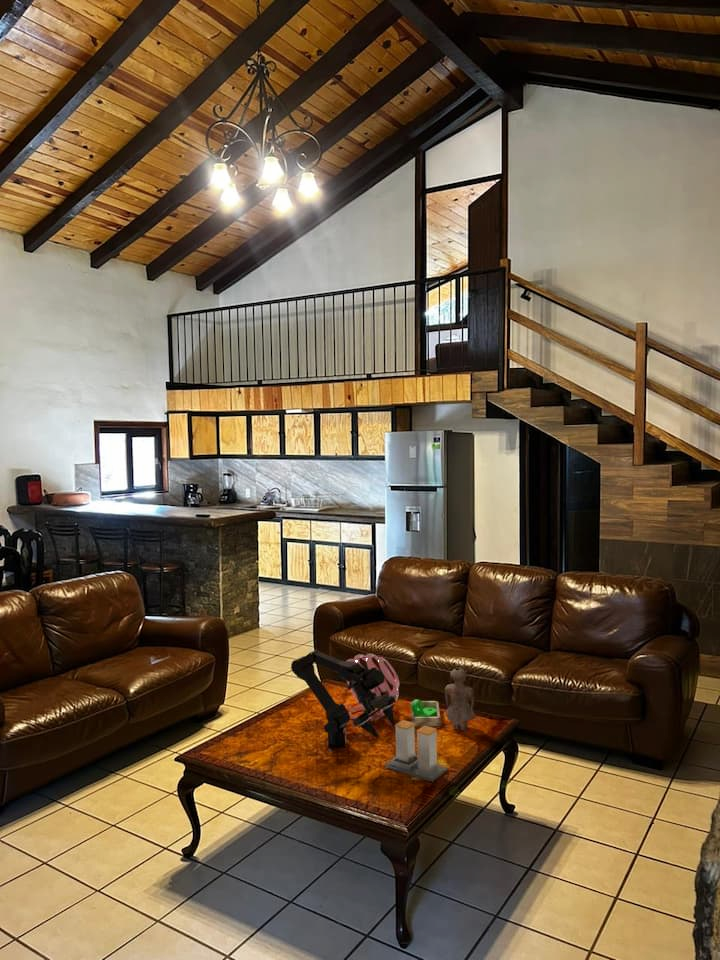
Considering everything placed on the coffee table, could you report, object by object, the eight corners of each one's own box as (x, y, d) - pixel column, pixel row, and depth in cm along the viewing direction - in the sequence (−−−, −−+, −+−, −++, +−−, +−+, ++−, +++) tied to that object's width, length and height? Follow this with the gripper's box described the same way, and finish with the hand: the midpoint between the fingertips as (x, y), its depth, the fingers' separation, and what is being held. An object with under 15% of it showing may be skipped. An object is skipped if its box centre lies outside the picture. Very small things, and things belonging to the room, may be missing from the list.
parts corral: (411, 726, 294) (411, 717, 294) (411, 708, 312) (410, 701, 312) (440, 725, 293) (440, 717, 293) (438, 708, 311) (438, 701, 311)
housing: (385, 767, 259) (384, 725, 258) (400, 756, 267) (399, 715, 266) (432, 782, 247) (431, 738, 246) (446, 770, 255) (445, 727, 254)
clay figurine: (478, 725, 292) (477, 666, 291) (471, 735, 284) (470, 674, 282) (449, 720, 298) (447, 663, 296) (441, 730, 289) (439, 670, 287)
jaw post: (396, 764, 259) (395, 724, 258) (403, 758, 263) (402, 719, 262) (408, 767, 256) (407, 728, 255) (415, 761, 260) (414, 722, 259)
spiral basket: (314, 678, 299) (366, 643, 295) (335, 672, 325) (383, 640, 321) (348, 738, 290) (402, 703, 286) (367, 727, 317) (416, 694, 313)
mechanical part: (422, 723, 298) (422, 704, 297) (411, 719, 302) (411, 701, 301) (439, 714, 306) (439, 696, 306) (428, 710, 311) (427, 693, 310)
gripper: (357, 698, 257) (379, 737, 253) (392, 677, 270) (414, 714, 265) (343, 707, 265) (364, 745, 261) (378, 686, 278) (398, 722, 273)
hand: (386, 731), depth 265 cm, fingers open, 9 cm apart
